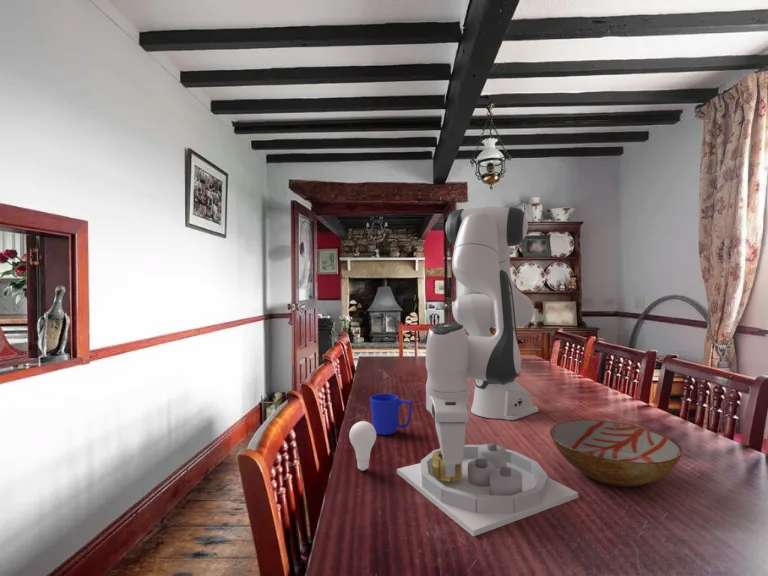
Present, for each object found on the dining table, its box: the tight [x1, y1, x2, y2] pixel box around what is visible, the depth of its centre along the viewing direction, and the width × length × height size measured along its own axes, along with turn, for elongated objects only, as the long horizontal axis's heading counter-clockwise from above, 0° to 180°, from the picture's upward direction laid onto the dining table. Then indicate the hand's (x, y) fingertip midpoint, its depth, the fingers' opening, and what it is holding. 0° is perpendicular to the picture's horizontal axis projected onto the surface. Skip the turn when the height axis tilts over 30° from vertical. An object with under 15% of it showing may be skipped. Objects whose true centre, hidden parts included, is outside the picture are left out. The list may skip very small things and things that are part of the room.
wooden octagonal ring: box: [432, 450, 463, 482], centre depth 85 cm, size 6×6×4 cm
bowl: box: [549, 419, 683, 488], centre depth 89 cm, size 25×25×8 cm
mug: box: [369, 393, 413, 436], centre depth 116 cm, size 8×12×10 cm
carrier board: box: [396, 442, 579, 537], centre depth 85 cm, size 26×26×6 cm
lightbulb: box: [348, 420, 377, 472], centre depth 92 cm, size 6×6×11 cm
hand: (447, 466), depth 85 cm, fingers closed on wooden octagonal ring, 6 cm apart
